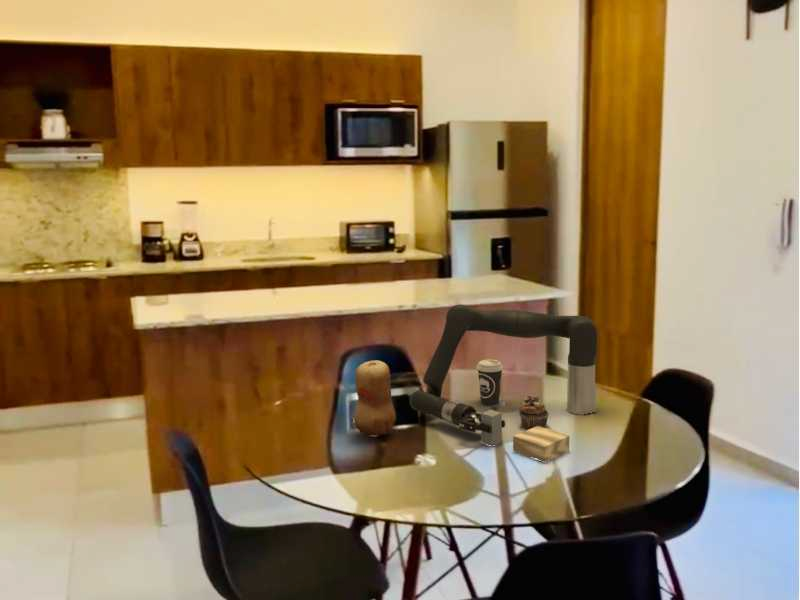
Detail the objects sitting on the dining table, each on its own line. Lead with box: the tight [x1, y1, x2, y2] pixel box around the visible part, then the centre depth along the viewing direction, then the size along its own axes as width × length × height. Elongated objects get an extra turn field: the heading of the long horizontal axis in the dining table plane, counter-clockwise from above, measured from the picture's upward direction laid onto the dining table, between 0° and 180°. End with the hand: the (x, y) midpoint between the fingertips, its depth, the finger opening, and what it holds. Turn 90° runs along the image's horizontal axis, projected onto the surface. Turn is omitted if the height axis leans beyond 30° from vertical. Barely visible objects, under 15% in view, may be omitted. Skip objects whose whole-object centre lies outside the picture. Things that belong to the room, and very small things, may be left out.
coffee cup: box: [476, 359, 504, 406], centre depth 279 cm, size 10×10×15 cm
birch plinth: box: [512, 426, 570, 463], centre depth 235 cm, size 12×12×5 cm
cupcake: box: [518, 395, 550, 431], centre depth 255 cm, size 10×10×10 cm
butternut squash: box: [353, 359, 397, 436], centre depth 249 cm, size 14×13×25 cm
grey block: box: [480, 409, 503, 447], centre depth 242 cm, size 4×4×10 cm
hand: (497, 427), depth 240 cm, fingers open, 5 cm apart
